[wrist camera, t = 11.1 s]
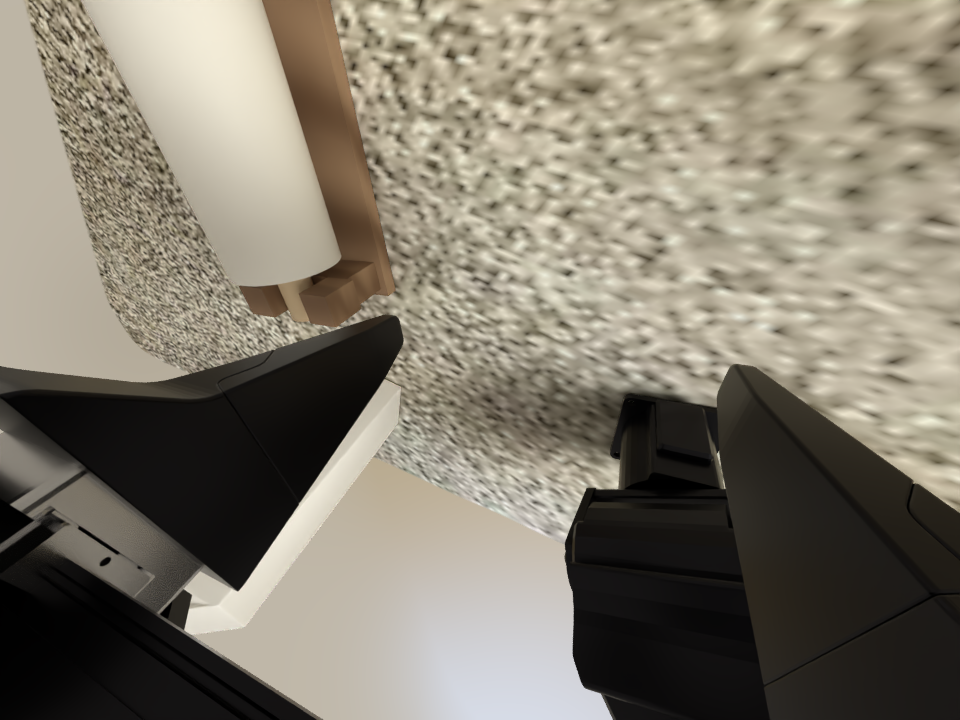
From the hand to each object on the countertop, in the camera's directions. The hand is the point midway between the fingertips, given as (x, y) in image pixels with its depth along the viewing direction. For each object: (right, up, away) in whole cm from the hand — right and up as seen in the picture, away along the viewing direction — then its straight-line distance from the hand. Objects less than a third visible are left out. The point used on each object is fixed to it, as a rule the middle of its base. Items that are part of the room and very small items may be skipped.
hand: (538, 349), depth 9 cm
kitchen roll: (-14, +12, +7) cm, 20 cm away
